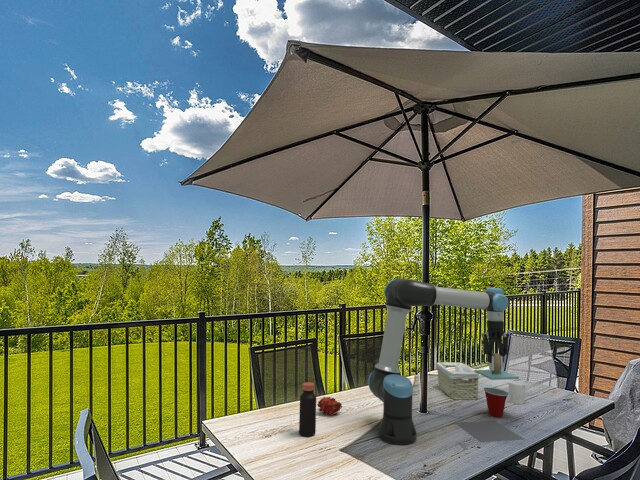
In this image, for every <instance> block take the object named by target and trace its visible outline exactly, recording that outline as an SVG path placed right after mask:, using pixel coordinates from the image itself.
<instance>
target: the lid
mask: <svg viewBox="0 0 640 480" xmlns="http://www.w3.org/2000/svg"><path fill="white" fill-rule="evenodd" d="M492 356H494V370H490V369H474V372H475V373H478V374H479V376H482V377H484V378H487V379H489V380H491V381H502V380H520V376H518V375H515V374H514V373H510V372H508V371H505V370H504V369H503V370H501V363H500V354H499V353H495V352H493V354H492Z"/></svg>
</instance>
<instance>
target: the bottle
mask: <svg viewBox="0 0 640 480" xmlns="http://www.w3.org/2000/svg"><path fill="white" fill-rule="evenodd" d="M314 391H315V383H314V382H309V381H308V382H303V383H302V393H301V394H300V395H299V422H298V423H299V425H298V432H299V433H298V435H300V436H301V437H304V438H310V437H314V436H316V432H317V430H316V427H317V395H316V394H315V392H314Z"/></svg>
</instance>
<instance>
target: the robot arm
mask: <svg viewBox="0 0 640 480" xmlns="http://www.w3.org/2000/svg"><path fill="white" fill-rule="evenodd" d="M384 297H385V298H386V301H385V307H386V309H387V315H386V320H385V326H384V331H383V338H382V343H381V347H380V348H381V349H380V354H379V360H378V363H376V364H375V365H374V368H373V371H372V372H371V373H370V374H369V376H368V383H367V385H368V387H369V390H370V391H371V393H372V395H374V397H376V398H377V399H378V400H380V401H381V402H382V403H383V407H382V408H383V409H382V411H383V412H382V413H383V415H382V419H381V423H380V425H379V428H378V437H379V438H380V439H381V440H382V441H384V442H385V443H389V444H392V445H398V446H403V445H404V446H405V445H410V444H414V443H415V442H417V435H418V434H417V430H416V427H415V424H414V420H413V393H414V389H413V383H412V381H411V379H410V378H409V377H406V376H405V375H401V372H402V371H401V370H400V368H399V362H400V356H401V350H402V345H403V338H404V334H405V327H406V321H407V316H408V314H409V313H411V311H412V308H413V307H425V306H426V307H433V306H434V305H439V306H449V307H458V308H459V307H460V308H468V309H478V310H486V319H487V320H486V328H487V329H486V331H485V332H484V333H481V337H482V346H483V354H484V355H486V356H487V363H488V370H494V356H492V354H493V353H494V348H495V347H494V346H495V343H496V345H497V349H498V354H500V363H501V370H503V371H504V366H503V365H504V364H503V363H504V362H505V357H506V355H508V354H509V338H510V334H509V333H506V332H505V331H504V328H505V326H504V324H505V321H504V320H505V319H504V318H505V317H504V311H506V310H507V309H508V307H509V299H508V297H507V296H506V295H504V290H503V289H502V288H499V287H487V288H486V291H484V292H483V291H478V290H477V291H475V290H468V289H467V290H466V289H458V288H452V287H451V288H450V287H441V286H436V285H435V284H433V283H428V282H423V281H419V280H415V279H410V278H409V279H408V278H399V277H398V278H394V279H391V280H390V281H388V282H387V284H386V286H385V287H384Z"/></svg>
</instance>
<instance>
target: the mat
mask: <svg viewBox="0 0 640 480" xmlns="http://www.w3.org/2000/svg"><path fill="white" fill-rule="evenodd" d="M454 424H455V425H456V426H458V427H460V428H461V429H462V430H464V432H466V433H468V434H469V435H470V436H472V437H473V438H474V439H475V440H477V441H478V442H480V443H488V442H490V443H491V442H504V441H506V442H507V441H517V440H518V441H521V440H525V438H524V437H522V436H521V435H519V434H517V433H516V432H514V431H513V430H511V429H509V428H507V427H506V426H505V425H503V424H501V423H499V422H498V421H496V420H484V421H483V420H481V421H463V422H454Z"/></svg>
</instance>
